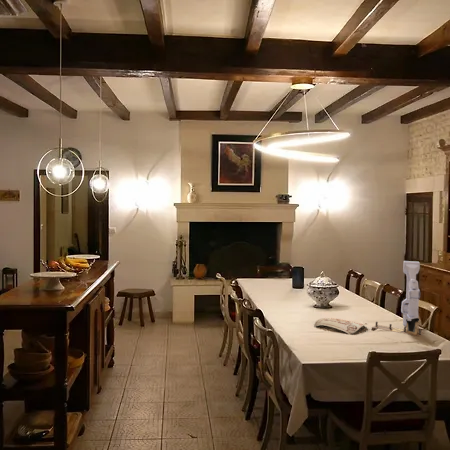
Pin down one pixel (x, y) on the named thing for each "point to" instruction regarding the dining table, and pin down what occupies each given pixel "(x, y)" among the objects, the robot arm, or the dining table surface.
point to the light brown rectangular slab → (415, 330)
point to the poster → (340, 324)
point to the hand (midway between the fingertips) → (412, 330)
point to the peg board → (395, 329)
